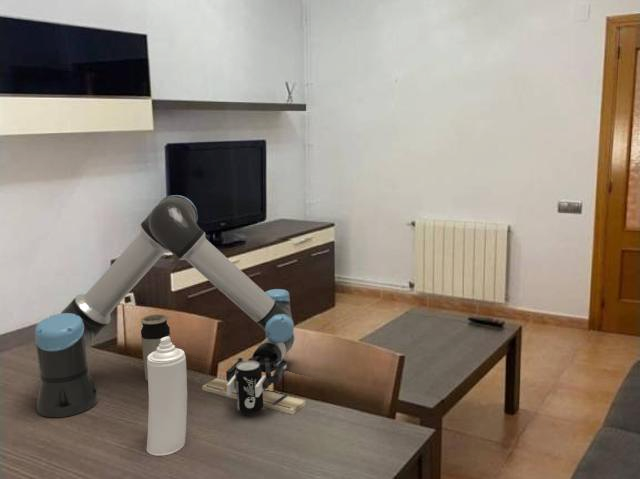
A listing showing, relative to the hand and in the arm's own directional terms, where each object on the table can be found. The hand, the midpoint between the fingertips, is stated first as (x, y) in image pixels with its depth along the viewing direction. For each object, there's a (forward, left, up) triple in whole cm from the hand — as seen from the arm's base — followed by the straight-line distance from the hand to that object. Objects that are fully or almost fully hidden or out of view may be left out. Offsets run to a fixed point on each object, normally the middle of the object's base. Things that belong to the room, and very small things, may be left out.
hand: (242, 390), depth 150 cm
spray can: (-16, +10, -8) cm, 20 cm away
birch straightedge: (+12, +7, -8) cm, 16 cm away
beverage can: (+5, +2, -8) cm, 9 cm away
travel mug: (+9, +39, -8) cm, 41 cm away
